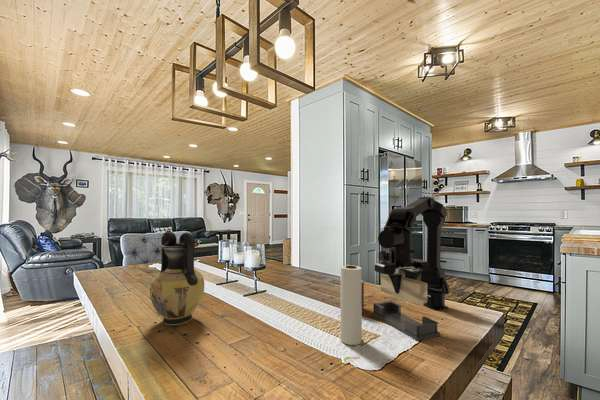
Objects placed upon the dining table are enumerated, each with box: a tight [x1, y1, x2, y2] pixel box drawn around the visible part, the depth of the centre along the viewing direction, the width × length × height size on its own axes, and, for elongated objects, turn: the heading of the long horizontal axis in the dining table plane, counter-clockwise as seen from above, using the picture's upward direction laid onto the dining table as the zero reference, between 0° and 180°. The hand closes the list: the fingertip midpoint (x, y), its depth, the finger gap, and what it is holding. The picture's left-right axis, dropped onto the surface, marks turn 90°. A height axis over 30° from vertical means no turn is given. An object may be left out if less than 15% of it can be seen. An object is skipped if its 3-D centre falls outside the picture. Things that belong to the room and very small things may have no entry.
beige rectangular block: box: [380, 273, 427, 305], centre depth 94 cm, size 4×16×6 cm, turn 28°
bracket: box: [371, 300, 441, 342], centre depth 94 cm, size 9×22×4 cm, turn 21°
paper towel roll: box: [339, 263, 363, 346], centre depth 83 cm, size 7×6×21 cm
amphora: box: [149, 231, 205, 326], centre depth 96 cm, size 18×17×30 cm
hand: (402, 292), depth 94 cm, fingers closed on beige rectangular block, 4 cm apart
